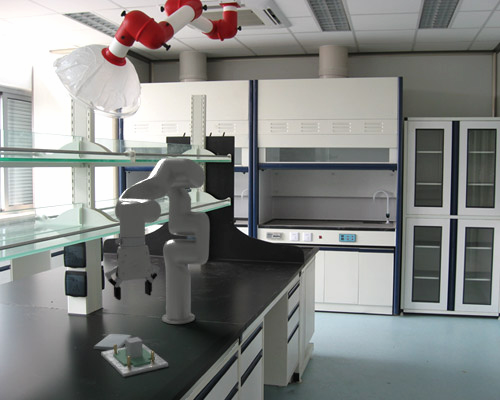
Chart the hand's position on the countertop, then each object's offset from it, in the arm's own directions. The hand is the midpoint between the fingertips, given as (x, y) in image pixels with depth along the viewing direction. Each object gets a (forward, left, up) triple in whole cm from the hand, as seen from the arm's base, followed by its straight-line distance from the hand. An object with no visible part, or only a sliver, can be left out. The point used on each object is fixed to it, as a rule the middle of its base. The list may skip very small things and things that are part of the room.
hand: (133, 296), depth 161 cm
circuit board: (0, 0, -19) cm, 19 cm away
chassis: (0, 0, -20) cm, 20 cm away
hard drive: (-18, 0, -21) cm, 28 cm away
